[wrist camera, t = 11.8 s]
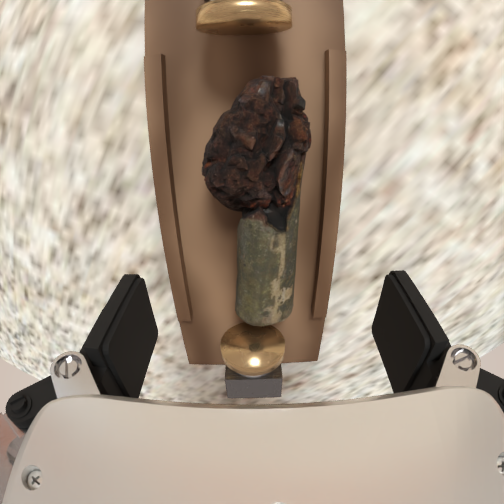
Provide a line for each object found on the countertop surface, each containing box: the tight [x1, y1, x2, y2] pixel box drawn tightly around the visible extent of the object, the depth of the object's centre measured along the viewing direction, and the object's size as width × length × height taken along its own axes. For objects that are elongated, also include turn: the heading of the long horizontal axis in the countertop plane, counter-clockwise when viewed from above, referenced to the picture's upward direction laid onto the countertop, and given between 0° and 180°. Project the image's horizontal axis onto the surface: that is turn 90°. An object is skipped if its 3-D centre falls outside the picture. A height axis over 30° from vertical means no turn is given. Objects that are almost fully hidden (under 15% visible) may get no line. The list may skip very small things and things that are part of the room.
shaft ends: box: [196, 0, 292, 398], centre depth 20 cm, size 6×35×6 cm, turn 1°
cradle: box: [144, 0, 346, 364], centre depth 23 cm, size 14×37×3 cm, turn 1°
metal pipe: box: [201, 75, 312, 326], centre depth 20 cm, size 18×7×6 cm, turn 179°
